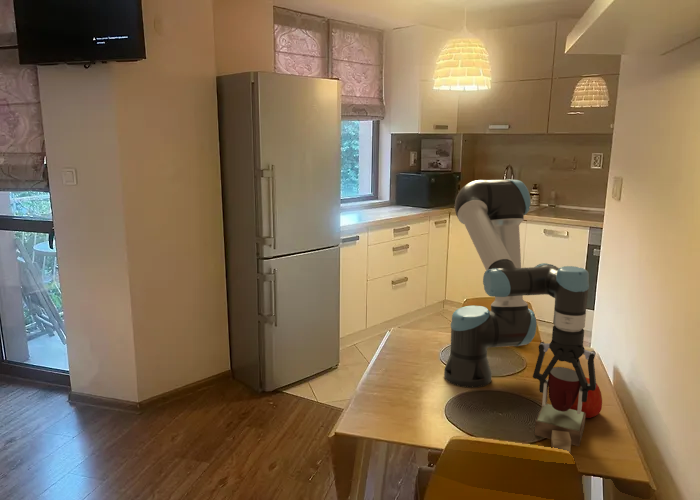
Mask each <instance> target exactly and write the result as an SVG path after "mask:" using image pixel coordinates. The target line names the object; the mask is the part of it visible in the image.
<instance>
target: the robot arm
mask: <svg viewBox="0 0 700 500" xmlns="http://www.w3.org/2000/svg"><path fill="white" fill-rule="evenodd" d="M530 207H531V194H530V191H529V189H528V187H527V186H526V183H524V182H523V181H521V180H519V179H510V178H508V179H507V178H506V179H478V180H472V181H470V182H468V183H467V184H465V185H464V186H463V187H461V189H460V190H459V192H458V193H457V195H456V197H455V202H454V212H455V215H456V217H457V220H458V221H459V222H460V223H461V224H462V225H464V227H465V229H466V230H467V233H468V235H469V236H470V239H471V241H472V244H473V245H474V248H475V250H476V252H477V254H478V256H479V258H480V260H481V262H482V265H483V267H484V268H485V271H484V274H483V277H482V284H483V289H484V291H485V293H486V294H487V295H488V296H489V297H493V298H494V301H493V302H492V303H491V304H490V310H489V309H488V308H487V307H486V306H482V305H467V306H462V307H459V308H457V309H456V310H455V311H453V313H452V315H451V321H450V322H451V323H450V328H451V329H450V353H449V356H448V359H447V362H446V364H445V367H444V374H443V376H444V377H443V378H444V379H445V380H446V381H447V382H448V383H450V384H451V385H455V386H458V387H462V388H471V389H472V388H473V389H474V388H475V389H476V388H482V387H486V386H487V385H489V384H491V382H492V376H493V375H492V368H491V366H490V364H489V359H488V348H499V347H519V346H525V345H528V344H530V343H531V342H532V341H533V339H534V338H535V336H536V332H537V317H536V315H535V312H534V311H533V310H532V309H530V308H529V303H528V302H526V301H525V300H524V299H523V296H542V295H543V296H544V295H546V296H547V295H548V296H550V297H552V298H553V299H554V311H553V320H552V321H553V322H552V323H553V326H552V333H551V341H550V343H545V342H544V341H541V342H540V344H539V345H538V356H537V360H536V363H535V366H534V371H533V374H532V377H533V379H536V380H538V381H539V389H538V392H539V393H541V394H542V402H541V403H542V404H541V407H542V406H545V405H546V404H548V396H549V390H548V377H549V373H550V372H551V370H552V368H554V367H555V366H556V364H557V363H558V362H566V363H569V364H572V367H573V368H574V369H573V370H574V371H576V374H577V376H578V379H579V382H580V384H581V387H580V390H579V398H578V409H577V414H580V413H581V410H582V402H586V401H587V396H588V391H589V390H592V391H594V390H595V389H596V383H597V380H596V368H595V357H596V353H597V352H596V351H595V350H591V351H590V350H586V349H585V347H584V338H585V330H584V328H585V326H586V316H587V306H588V295H589V289H590V283H589V281H590V279H589V278H590V274H589V273H590V272H589V271H588V270H587V269H585V268H584V267H583V268H582V267H578V266H573V265H570V266H569V265H567V266H561V267H558V266H556V265H554V264H549V263H547V262H545V263H543V262H541V263H539V264H536V265H535V266H533V267H531V266H530V267H522V257H521V256H522V255H521V238H520V225H521V223H523V221H524V220H525V218H524V216H525V215H527V214H528V213H529V211H530V210H531V209H530ZM549 349H550V351H551V352H552V354H553V357H552V358H551V359H550V361H549V363H548V365H547V366H546V368H545V369H544V371H543V372H542V373H540V372H541V369H542V365H543V362H544V357H545V355H546V353H547V352H548V350H549ZM583 355H584V357H585V359H586V360H587V370H588V378H589V382H590V384H588V383H587V380H586V378H587V377H586V374H585V372H584V370H583V368H582V365H581V361H580V357H582V356H583Z"/></svg>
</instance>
